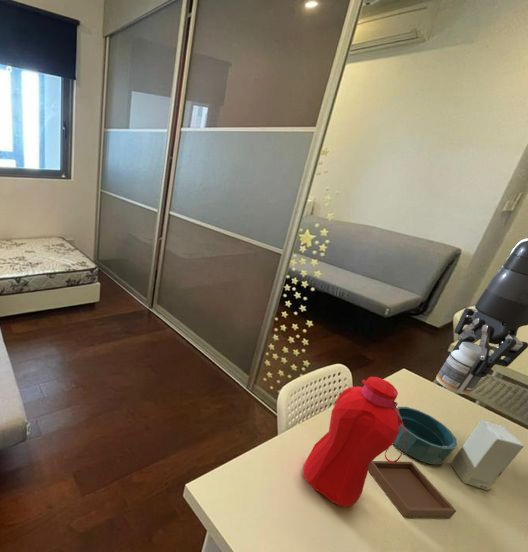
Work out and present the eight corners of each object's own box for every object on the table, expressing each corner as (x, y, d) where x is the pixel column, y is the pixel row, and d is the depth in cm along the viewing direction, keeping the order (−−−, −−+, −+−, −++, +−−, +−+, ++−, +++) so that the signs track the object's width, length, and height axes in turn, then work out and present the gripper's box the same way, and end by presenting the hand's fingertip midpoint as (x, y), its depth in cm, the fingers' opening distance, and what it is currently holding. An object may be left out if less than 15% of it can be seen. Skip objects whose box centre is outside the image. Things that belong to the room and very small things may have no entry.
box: (488, 491, 64) (527, 448, 59) (462, 483, 66) (498, 439, 60) (472, 468, 69) (507, 426, 64) (447, 461, 70) (480, 418, 65)
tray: (406, 468, 67) (411, 461, 67) (450, 517, 59) (456, 510, 58) (365, 467, 66) (369, 460, 66) (403, 517, 58) (409, 510, 57)
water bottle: (361, 526, 56) (432, 424, 45) (296, 479, 62) (345, 381, 52) (370, 490, 62) (434, 393, 52) (310, 451, 69) (357, 358, 58)
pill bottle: (458, 380, 71) (484, 344, 67) (476, 399, 66) (505, 360, 62) (429, 373, 72) (452, 337, 68) (444, 391, 67) (470, 352, 63)
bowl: (427, 432, 77) (439, 415, 75) (455, 474, 67) (469, 456, 65) (375, 417, 80) (385, 400, 78) (394, 455, 70) (406, 437, 68)
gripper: (575, 317, 52) (513, 394, 59) (511, 284, 65) (466, 351, 72) (518, 306, 54) (465, 382, 61) (467, 276, 67) (427, 342, 74)
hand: (466, 365), depth 67 cm, fingers closed on pill bottle, 5 cm apart
